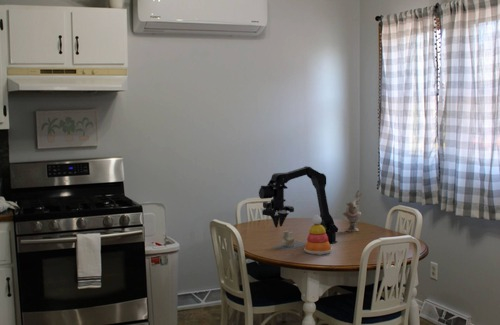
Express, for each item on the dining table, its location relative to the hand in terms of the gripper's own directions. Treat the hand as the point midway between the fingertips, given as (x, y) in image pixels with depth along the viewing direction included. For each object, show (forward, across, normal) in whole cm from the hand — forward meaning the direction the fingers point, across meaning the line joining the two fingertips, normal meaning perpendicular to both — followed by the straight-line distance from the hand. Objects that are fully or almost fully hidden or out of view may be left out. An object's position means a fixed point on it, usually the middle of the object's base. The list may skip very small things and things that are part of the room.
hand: (278, 226), depth 289 cm
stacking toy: (+12, -10, +19) cm, 24 cm away
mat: (+12, -10, 0) cm, 16 cm away
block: (+12, -8, 0) cm, 14 cm away
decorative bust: (+12, -64, 0) cm, 66 cm away
